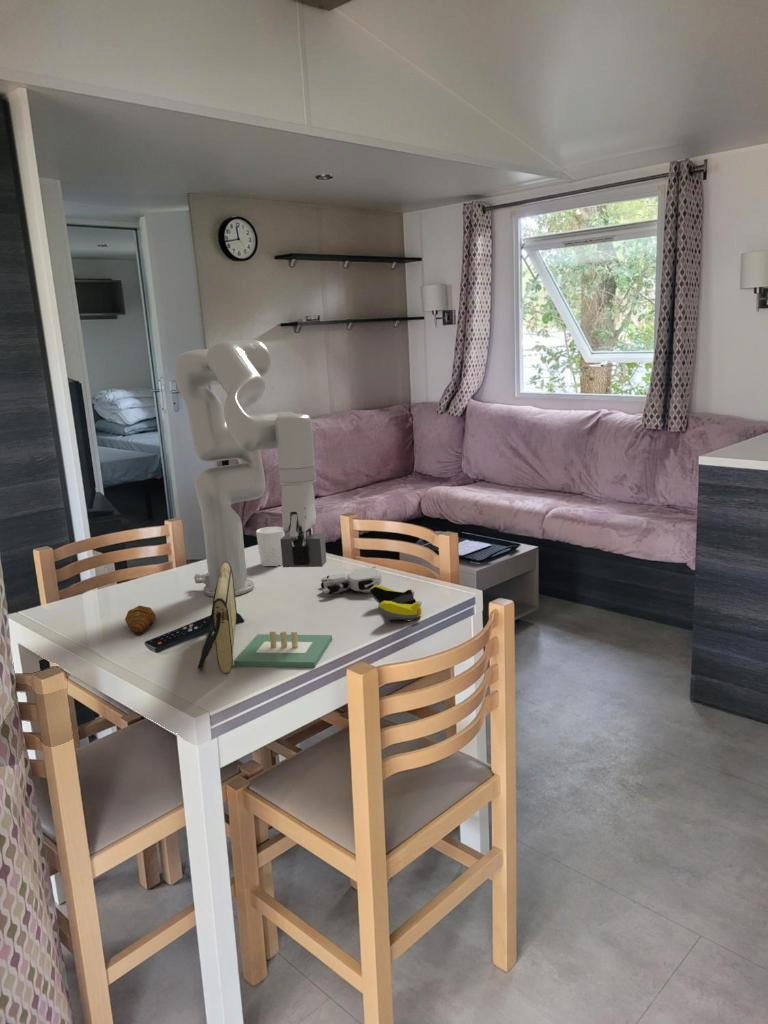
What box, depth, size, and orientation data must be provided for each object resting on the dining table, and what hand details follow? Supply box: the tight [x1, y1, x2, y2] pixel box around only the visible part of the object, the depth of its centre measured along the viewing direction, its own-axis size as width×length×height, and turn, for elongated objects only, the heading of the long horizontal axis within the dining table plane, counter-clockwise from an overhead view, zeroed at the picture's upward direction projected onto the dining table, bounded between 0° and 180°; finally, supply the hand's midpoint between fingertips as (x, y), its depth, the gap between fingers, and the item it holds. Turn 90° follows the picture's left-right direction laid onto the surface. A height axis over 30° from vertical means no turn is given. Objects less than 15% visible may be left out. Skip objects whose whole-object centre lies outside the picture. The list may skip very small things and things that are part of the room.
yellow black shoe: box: [369, 585, 423, 621], centre depth 170 cm, size 15×6×10 cm
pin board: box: [233, 631, 333, 668], centre depth 152 cm, size 16×14×4 cm
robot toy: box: [320, 565, 382, 595], centre depth 190 cm, size 12×4×15 cm
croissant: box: [124, 605, 157, 635], centre depth 172 cm, size 14×7×5 cm, turn 11°
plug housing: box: [280, 531, 327, 568], centre depth 160 cm, size 8×4×7 cm, turn 81°
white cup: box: [255, 526, 286, 567], centre depth 217 cm, size 8×8×10 cm
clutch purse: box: [197, 562, 238, 674], centre depth 154 cm, size 30×7×15 cm, turn 9°
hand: (304, 560), depth 161 cm, fingers closed on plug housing, 4 cm apart
